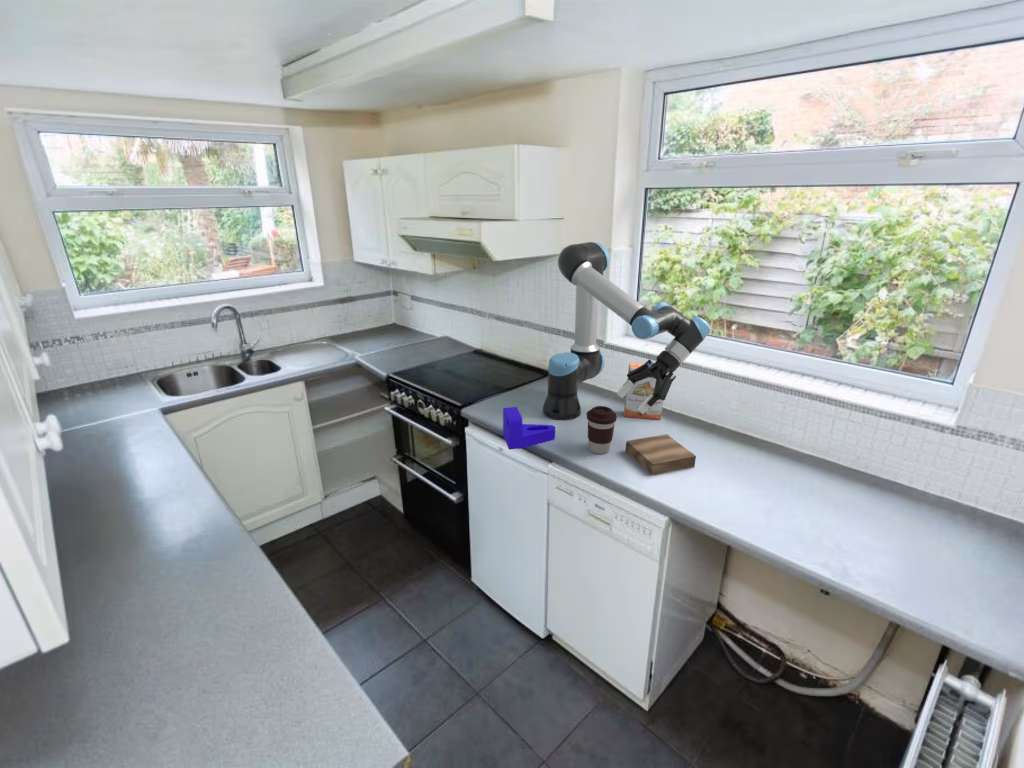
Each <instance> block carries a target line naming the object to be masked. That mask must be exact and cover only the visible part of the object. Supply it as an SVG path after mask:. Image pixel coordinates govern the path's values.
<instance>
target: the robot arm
mask: <svg viewBox="0 0 1024 768" xmlns="http://www.w3.org/2000/svg"><path fill="white" fill-rule="evenodd" d="M610 258H611V257H610V254H609V251H608V249H607V248H606V247H605V245H603V244H602V243H600V242H597V241H596V242H595V241H593V242H592V241H588V242H581V243H574V244H570V245H568V246H566V247H564V248H563V249H562V250H561V251H560V253H559V255H558V259H557V267H558V270H559V271H560V274H561V275H562V276H563V277H564V278H565V279H566V280H567V281H568V282H569V283H571V284H572V285H573V286H575V312H574V313H575V315H574V316H575V317H574V343H572V345H571V346H570V352H569V351H568V352H566V351H565V352H558V353H556V354H554V355H552V356H551V357H550V358H549V361H548V367H547V370H548V372H547V373H548V375H547V394H546V397H545V399H544V402H543V405H542V413H543V415H544V416H546V417H548V418H550V419H554V420H559V421H568V420H574V419H576V418H579V417H580V415H581V413H582V411H581V409H582V407H581V404H580V399H579V396H578V385H579V384H581V383H583V382H586V381H588V380H591V379H593V378H596V377H597V376H598V375H599V374H601V373H602V371H603V370H604V366H605V357H604V355H603V354H602V351H601V349H600V346H599V345H598V344H597V332H598V331H597V330H598V329H597V328H598V313H599V312H598V311H599V310H598V308H599V302H600V303H601V304H603V305H604V306H605V307H606V308H608V309H609V310H610V311H611V312H613V313H614V314H616V315H617V316H618V317H620V318H621V319H622V320H623V321H624V322H625V323H627V324H628V325H630V326H631V332H632V333H633V335H634V336H635V337H636V338H638V339H639V340H646V339H651V338H653V337H655V336H657V335H660V334H664V333H665V332H666V333H668V334H669V335H671V336H673V337H674V338H673V339H671V341H670V342H669V343H667V345H666V346H665V347H664V350H662V351H661V352H660V353H659V354H658V355H657V356H656V361H655V362H653V361H652V360H651V359H648V360H647V361H645V362H644V363H642V364H643V365H642V366H640V367H638V368H637V369H635V370H633V371H632V372H630V373H628V372H627V374H626V377H627V379H628V380H626V381H625V383H623V385H622V386H621V388H620V389H618V391H617V392H616V395H617V396H619V397H620V399H623V398H624V397H626V394H627V392H628V391H629V390H630V389H631V388H632V387H633V386H634V384H635V382H638V381H640V380H643V379H645V378H648V377H652V378H655V379H656V384H655V389H654V393H652V394H653V395H654V396H653V395H652V394H651V395H650V396H649V397H648V398H647V399H646V400H645V401H644V402H643V403H642V404H641V405H640V407H639V408H638V410H639V411H640V412H641V413H642V414H644V413H645V412H646V411H647V410H648V409H649V407H650V406H653V404H654V403H655V402H656V401H657V400H663V401H665V400H666V398H667V396H668V394H669V390H670V388H671V386H672V383H673V381H674V380H675V379H676V377H677V375H675V372H676V370H677V369H678V368H679V367H680V366H681V364H682V363H683V362H685V361H686V359H687V358H688V357H689V356H690V355H691V354H692V353H693V352H694V351H695V350H696V349H697V348H698V346H699V345H701V343H702V342H704V340H705V339H706V338H707V336H708V335H709V334H710V333H711V326H710V324H709V323H708V322H707V321H706V320H704V319H703V318H702V317H700V316H696V315H695V316H693V317H692V318H691V319H690V318H689V317H687V316H685V315H683V313H681V312H679V310H677V309H676V308H674V307H673V306H672V305H670V304H668V303H666V302H664V301H660V302H658V303H657V304H656V305H655V306H653V308H652V309H651V310H650V309H648V308H647V307H646V306H644V305H642V304H641V303H640V302H639V301H637V300H636V299H634V298H633V296H631V295H629V294H628V293H626V292H625V291H624V290H623V289H621V288H620V287H619V286H618V285H616V284H615V283H614V282H612V281H611V280H609V279H608V278H607V277H605V276H604V272H605V271H606V270H607V268H608V267H609V266H610ZM649 371H650V372H649ZM631 375H632V376H631ZM662 394H663V395H662Z"/></svg>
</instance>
